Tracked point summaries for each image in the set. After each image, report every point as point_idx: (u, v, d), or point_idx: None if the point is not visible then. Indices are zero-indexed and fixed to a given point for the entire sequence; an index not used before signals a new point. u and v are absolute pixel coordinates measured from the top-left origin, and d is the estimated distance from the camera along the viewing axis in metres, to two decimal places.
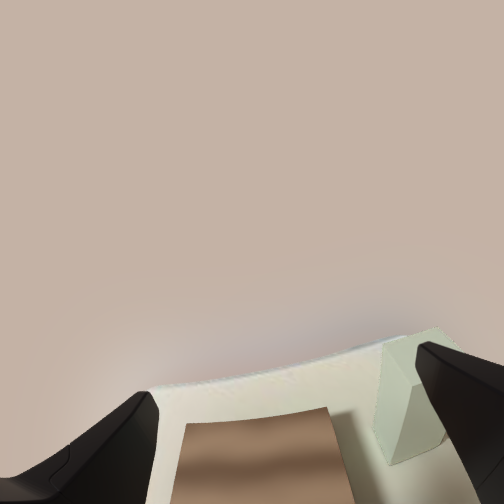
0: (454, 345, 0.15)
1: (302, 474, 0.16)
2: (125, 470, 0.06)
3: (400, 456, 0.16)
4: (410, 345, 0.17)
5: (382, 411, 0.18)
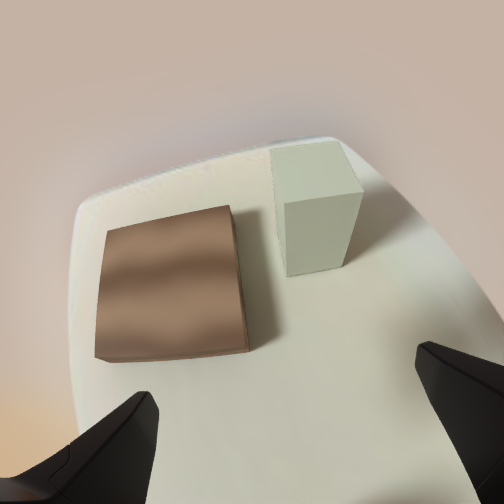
0: (349, 167, 0.17)
1: (198, 277, 0.23)
2: (125, 469, 0.06)
3: (296, 269, 0.24)
4: (298, 155, 0.18)
5: (277, 217, 0.23)
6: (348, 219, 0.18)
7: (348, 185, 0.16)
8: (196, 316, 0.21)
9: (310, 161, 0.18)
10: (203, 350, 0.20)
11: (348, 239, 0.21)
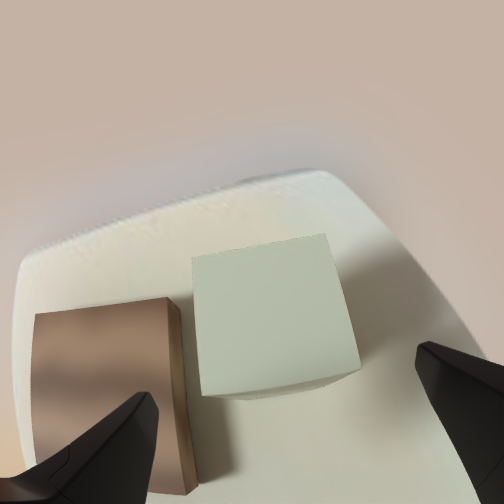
0: (341, 306, 0.09)
1: None
2: (125, 470, 0.06)
3: (257, 398, 0.16)
4: (243, 276, 0.10)
5: None
6: (330, 380, 0.10)
7: (332, 355, 0.08)
8: None
9: (263, 292, 0.10)
10: None
11: (332, 382, 0.12)
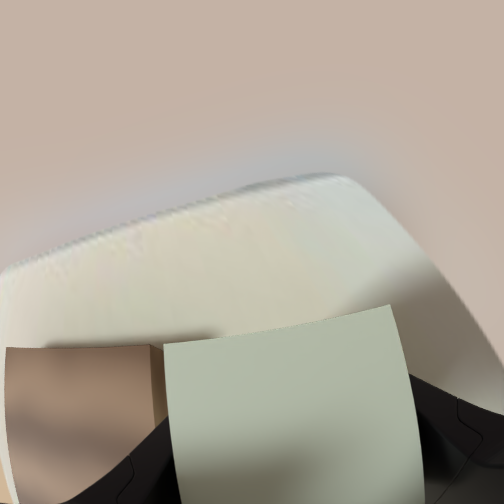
0: (410, 430, 0.04)
1: (108, 467, 0.10)
2: None
3: None
4: (252, 387, 0.05)
5: None
6: None
7: (389, 500, 0.03)
8: None
9: (287, 416, 0.05)
10: None
11: None
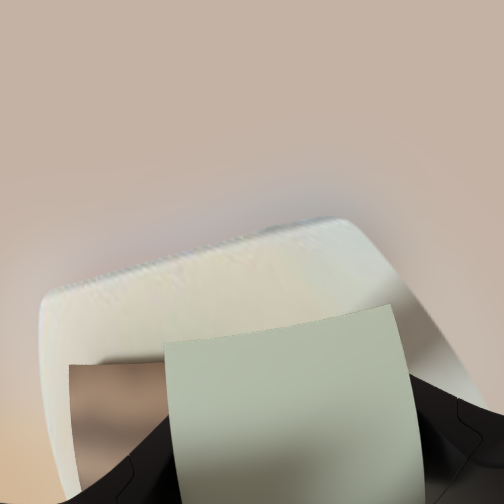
0: (411, 429, 0.04)
1: None
2: None
3: None
4: (252, 386, 0.05)
5: None
6: None
7: (389, 499, 0.03)
8: None
9: (288, 415, 0.05)
10: None
11: None
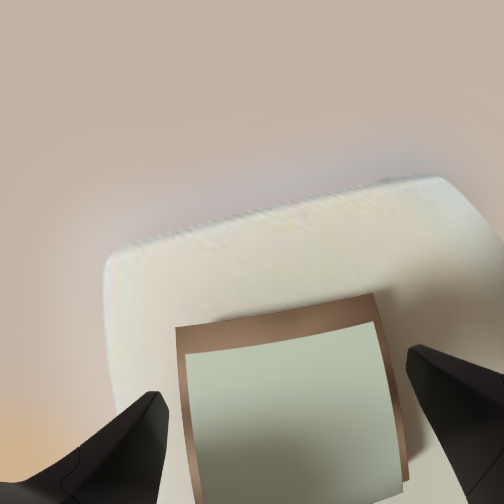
0: (388, 425, 0.05)
1: None
2: (136, 471, 0.06)
3: None
4: (259, 388, 0.06)
5: None
6: None
7: (371, 483, 0.05)
8: None
9: (287, 411, 0.06)
10: None
11: None
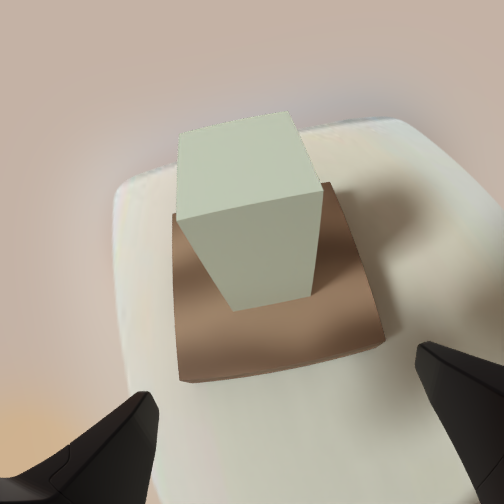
0: (301, 150, 0.10)
1: (315, 264, 0.19)
2: (125, 469, 0.06)
3: (243, 303, 0.17)
4: (219, 138, 0.11)
5: None
6: (304, 237, 0.12)
7: (294, 180, 0.10)
8: (323, 313, 0.17)
9: (235, 145, 0.11)
10: (338, 353, 0.16)
11: (312, 264, 0.14)
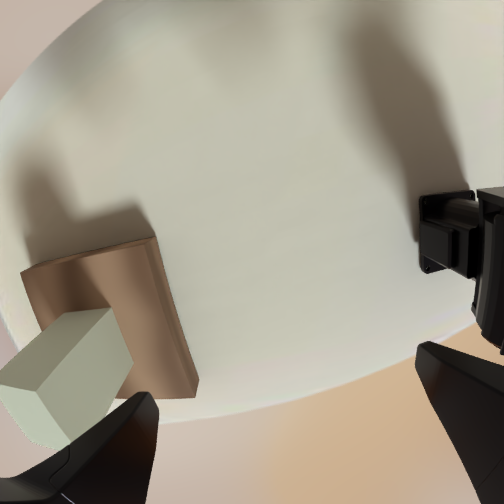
0: (14, 389, 0.09)
1: (86, 299, 0.19)
2: (125, 470, 0.06)
3: (125, 362, 0.19)
4: (25, 425, 0.10)
5: None
6: (65, 371, 0.12)
7: (36, 403, 0.09)
8: (123, 298, 0.19)
9: (26, 420, 0.10)
10: (156, 288, 0.19)
11: (82, 340, 0.14)
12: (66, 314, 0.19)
